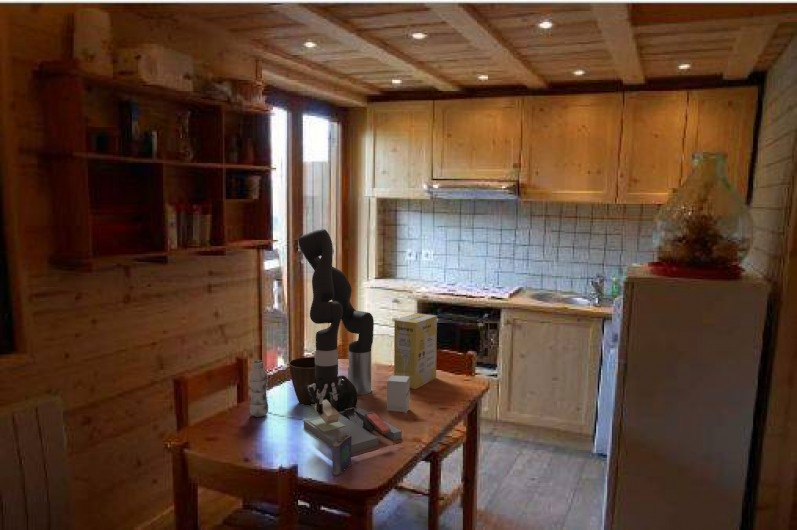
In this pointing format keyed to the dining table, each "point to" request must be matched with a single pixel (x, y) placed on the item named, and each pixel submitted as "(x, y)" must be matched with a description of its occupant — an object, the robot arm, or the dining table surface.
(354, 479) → the dining table surface
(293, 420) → the dining table surface
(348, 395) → the squash
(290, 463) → the dining table surface
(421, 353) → the pasta box
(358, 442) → the pocket board
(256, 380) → the plastic bottle
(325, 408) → the slab
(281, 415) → the dining table surface
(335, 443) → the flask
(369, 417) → the tip lever
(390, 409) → the supplement box
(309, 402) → the plant pot
